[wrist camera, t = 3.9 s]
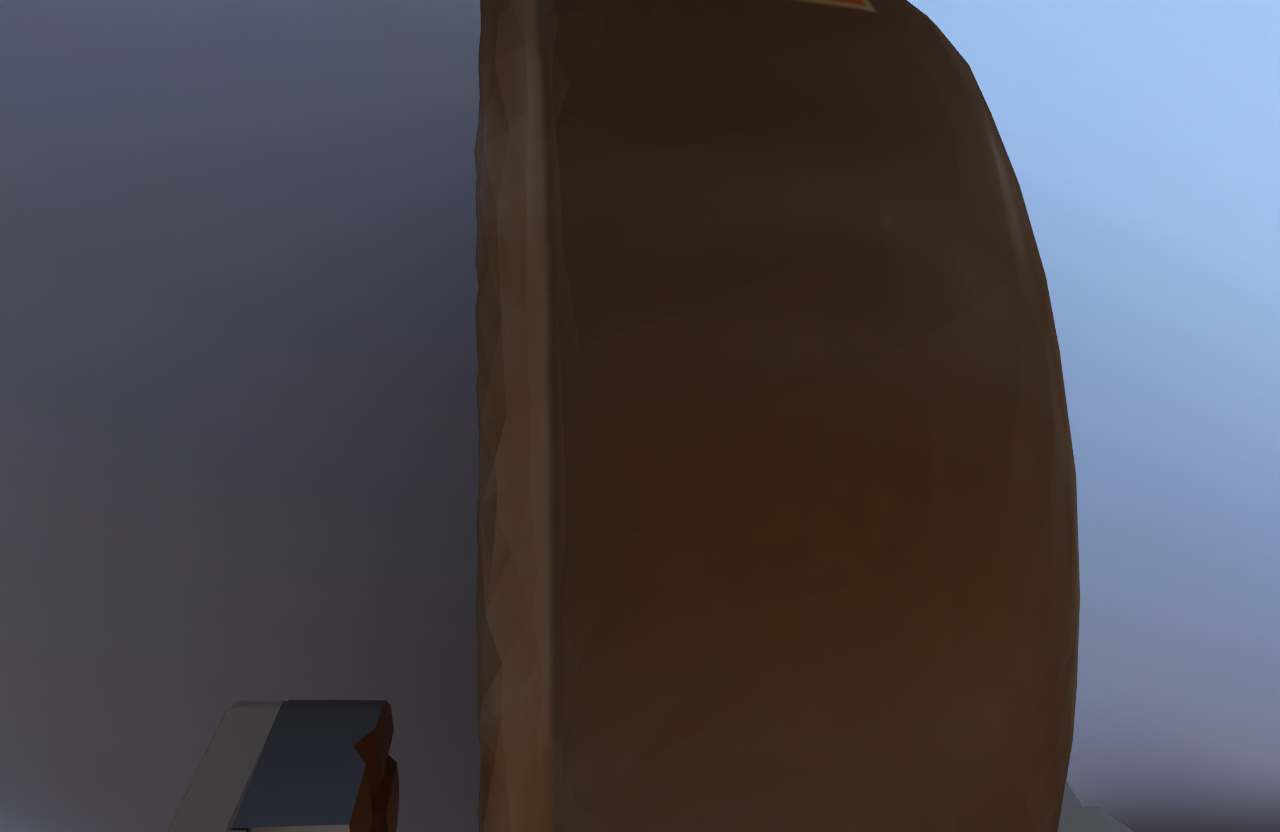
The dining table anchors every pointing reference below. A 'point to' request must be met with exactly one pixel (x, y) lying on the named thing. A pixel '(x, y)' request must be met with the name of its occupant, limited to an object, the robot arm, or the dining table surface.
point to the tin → (763, 430)
